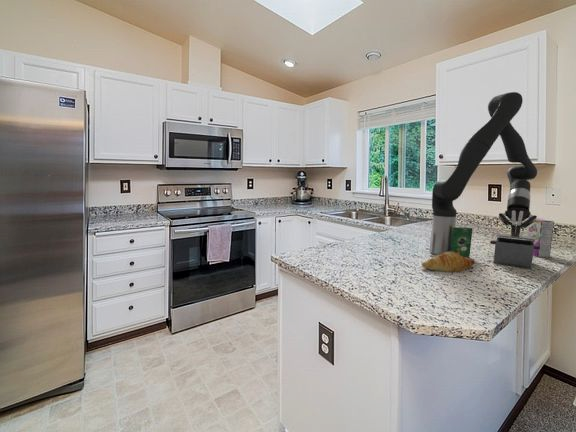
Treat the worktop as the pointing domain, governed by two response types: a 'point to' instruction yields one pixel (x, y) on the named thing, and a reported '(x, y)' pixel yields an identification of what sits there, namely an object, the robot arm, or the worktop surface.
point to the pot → (514, 252)
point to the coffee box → (461, 241)
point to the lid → (515, 236)
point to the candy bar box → (541, 236)
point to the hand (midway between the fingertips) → (515, 234)
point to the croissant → (448, 262)
